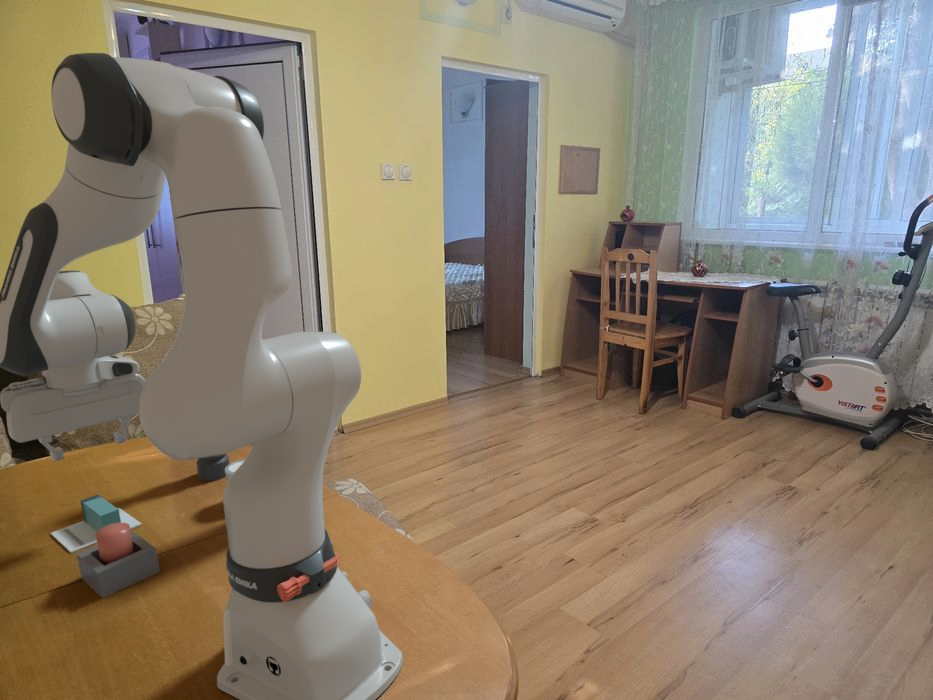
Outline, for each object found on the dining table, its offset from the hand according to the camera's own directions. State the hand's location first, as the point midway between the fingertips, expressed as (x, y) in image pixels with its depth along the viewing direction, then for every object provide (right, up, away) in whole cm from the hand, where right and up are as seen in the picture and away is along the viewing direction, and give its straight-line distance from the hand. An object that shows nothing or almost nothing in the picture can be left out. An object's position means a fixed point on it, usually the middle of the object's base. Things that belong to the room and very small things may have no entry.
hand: (90, 450), depth 100 cm
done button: (+11, -15, -10) cm, 21 cm away
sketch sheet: (-1, -14, +3) cm, 15 cm away
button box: (+11, -17, -10) cm, 22 cm away
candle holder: (+11, -9, +24) cm, 28 cm away
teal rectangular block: (0, -14, +4) cm, 14 cm away
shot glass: (+22, -12, +13) cm, 28 cm away
